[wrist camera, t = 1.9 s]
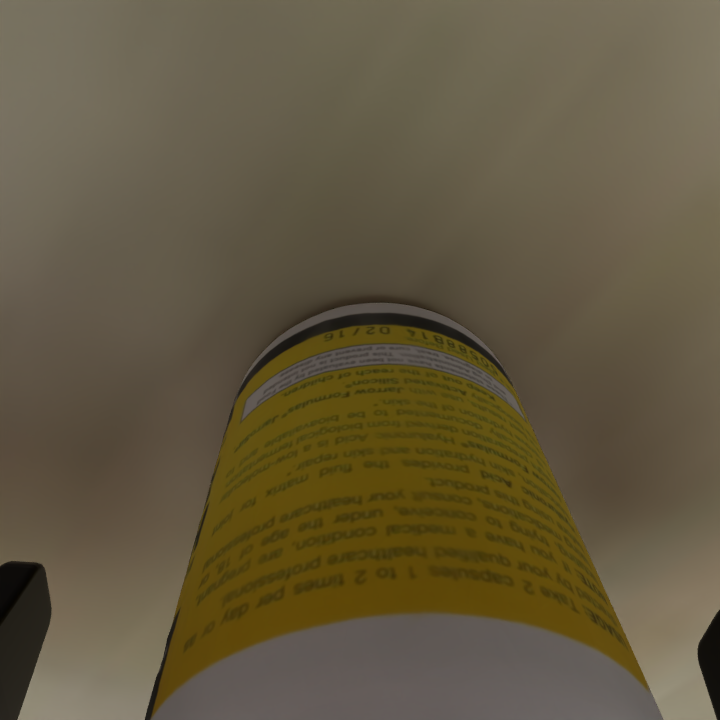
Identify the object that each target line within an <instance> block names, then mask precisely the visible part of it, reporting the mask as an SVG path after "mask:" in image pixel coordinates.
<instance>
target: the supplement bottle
mask: <svg viewBox="0 0 720 720" xmlns="http://www.w3.org/2000/svg"><path fill="white" fill-rule="evenodd" d="M145 720H663V718H662V715H661V713H660V711H659V709H658V706H657V704H656V702H655V700H654V697H653V695H652V693H651V691H650V689H649V686H648V684H647V682H646V680H645V677H644V675H643V673H642V671H641V669H640V666H639V664H638V662H637V660H636V657H635V655H634V653H633V651H632V649H631V646H630V644H629V642H628V640H627V638H626V635H625V633H624V631H623V629H622V627H621V624H620V622H619V620H618V618H617V616H616V613H615V611H614V609H613V607H612V605H611V603H610V600H609V598H608V596H607V594H606V592H605V589H604V587H603V585H602V583H601V581H600V578H599V576H598V574H597V572H596V569H595V567H594V565H593V563H592V561H591V558H590V556H589V554H588V552H587V550H586V547H585V545H584V543H583V541H582V538H581V536H580V534H579V532H578V529H577V527H576V525H575V523H574V520H573V518H572V516H571V514H570V511H569V509H568V507H567V505H566V502H565V500H564V498H563V496H562V493H561V491H560V489H559V487H558V485H557V482H556V480H555V478H554V476H553V474H552V471H551V469H550V467H549V465H548V462H547V460H546V458H545V456H544V454H543V452H542V449H541V447H540V445H539V443H538V440H537V438H536V436H535V433H534V431H533V429H532V427H531V424H530V422H529V420H528V418H527V416H526V413H525V411H524V409H523V407H522V405H521V402H520V400H519V398H518V396H517V394H516V392H515V390H514V387H513V385H512V383H511V381H510V379H509V377H508V375H507V373H506V372H505V370H504V368H503V366H502V365H501V364H500V362H499V361H498V359H497V358H496V356H495V355H494V354H493V353H492V351H491V350H490V349H489V348H488V347H487V346H486V345H485V344H484V343H483V342H482V341H481V340H480V339H479V338H478V337H476V336H475V335H474V334H473V333H471V332H470V331H469V330H467V329H466V328H464V327H463V326H461V325H460V324H458V323H456V322H454V321H453V320H451V319H449V318H447V317H445V316H442V315H440V314H438V313H435V312H432V311H429V310H426V309H422V308H419V307H415V306H410V305H403V304H396V303H364V304H355V305H348V306H343V307H338V308H335V309H332V310H328V311H326V312H323V313H321V314H318V315H316V316H313V317H311V318H309V319H307V320H305V321H303V322H301V323H299V324H297V325H296V326H294V327H292V328H290V329H289V330H287V331H286V332H285V333H283V334H282V335H280V336H279V337H278V338H277V339H275V340H274V341H273V342H272V343H271V344H270V345H269V346H268V347H267V348H266V349H265V350H264V351H263V352H262V353H261V354H260V355H259V357H258V358H257V359H256V360H255V361H254V363H253V364H252V365H251V367H250V368H249V370H248V372H247V373H246V375H245V377H244V379H243V381H242V383H241V385H240V388H239V390H238V392H237V395H236V397H235V401H234V404H233V407H232V410H231V413H230V416H229V420H228V424H227V427H226V430H225V433H224V436H223V441H222V445H221V449H220V452H219V456H218V459H217V462H216V466H215V469H214V473H213V476H212V480H211V484H210V488H209V492H208V496H207V500H206V503H205V507H204V511H203V514H202V518H201V521H200V524H199V528H198V532H197V536H196V539H195V543H194V546H193V550H192V553H191V557H190V561H189V565H188V569H187V573H186V576H185V579H184V583H183V586H182V590H181V593H180V597H179V600H178V604H177V608H176V612H175V616H174V620H173V624H172V627H171V630H170V632H169V635H168V638H167V643H166V647H165V652H164V657H163V660H162V663H161V667H160V670H159V672H158V674H157V677H156V680H155V684H154V687H153V691H152V695H151V698H150V702H149V705H148V709H147V713H146V717H145Z"/></svg>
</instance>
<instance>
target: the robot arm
mask: <svg viewBox="0 0 720 720" xmlns="http://www.w3.org/2000/svg"><path fill="white" fill-rule="evenodd" d="M51 609H52V608H51V600H50V595H49V589H48V583H47V577H46V572H45V568H44V567H43V565H42V564H40V563H36V562H20V561H10V562H7V563H5V564H3V565H1V566H0V720H17V719H18V716H19V713H20V710H21V707H22V705H23V702H24V699H25V696H26V693H27V690H28V687H29V684H30V681H31V678H32V675H33V672H34V669H35V666H36V663H37V660H38V657H39V654H40V651H41V648H42V645H43V642H44V639H45V636H46V633H47V630H48V627H49V624H50V619H51ZM698 661H699V665H700V668H701V671H702V674H703V677H704V681H705V684H706V687H707V690H708V693H709V696H710V699H711V702H712V705H713V708H714V711H715V715H716V718H717V720H720V610H719V611H718V612H717V614H716V615H715V617H714V619H713V620H712V622H711V624H710V625H709V627H708V629H707V630H706V632H705V634H704V635H703V637H702V639H701V640H700V642H699V645H698Z"/></svg>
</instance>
